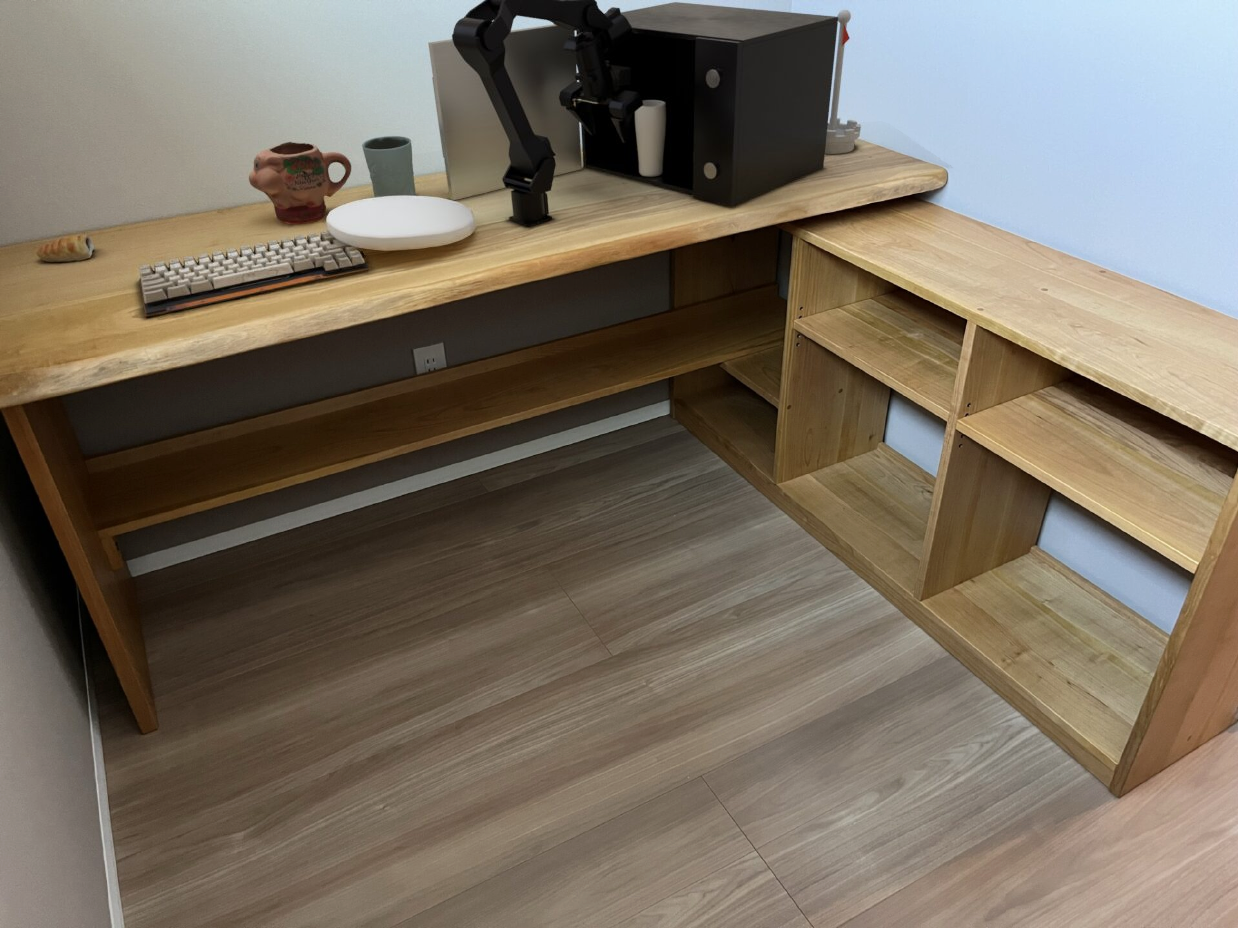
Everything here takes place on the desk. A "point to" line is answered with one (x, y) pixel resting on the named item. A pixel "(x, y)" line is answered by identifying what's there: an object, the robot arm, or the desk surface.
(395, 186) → the green cup
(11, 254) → the desk surface
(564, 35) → the microwave door
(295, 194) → the sculpted ceramic mug
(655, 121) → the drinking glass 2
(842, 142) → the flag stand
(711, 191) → the microwave
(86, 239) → the pastry
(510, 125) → the robot arm
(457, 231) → the white round disc
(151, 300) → the mechanical keyboard
